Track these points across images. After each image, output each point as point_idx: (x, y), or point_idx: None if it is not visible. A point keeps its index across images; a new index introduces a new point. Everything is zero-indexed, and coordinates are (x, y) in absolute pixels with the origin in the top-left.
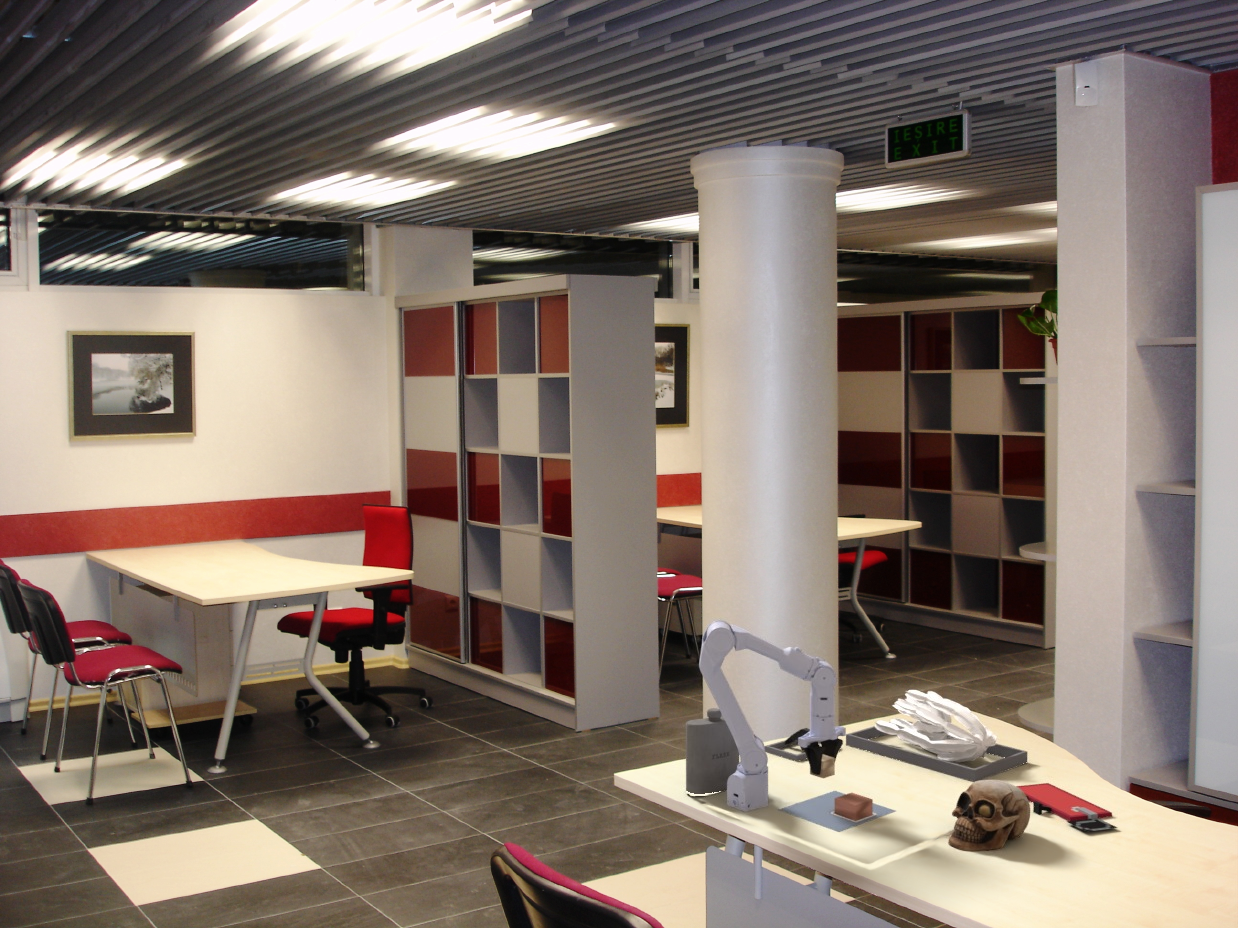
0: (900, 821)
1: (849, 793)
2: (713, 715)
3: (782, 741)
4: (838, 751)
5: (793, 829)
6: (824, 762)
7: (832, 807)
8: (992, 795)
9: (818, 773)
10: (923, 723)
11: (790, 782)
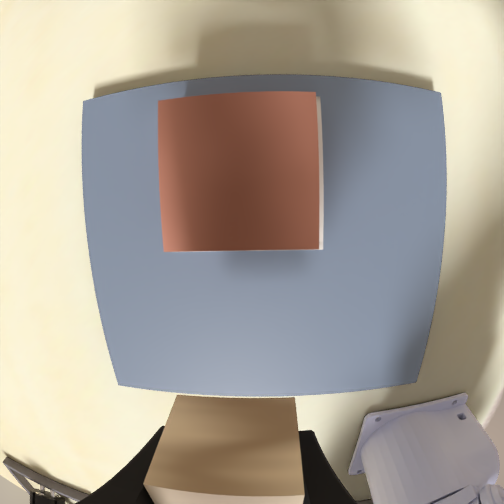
0: (132, 49)
1: (186, 248)
2: None
3: None
4: (81, 500)
5: (484, 247)
6: (287, 483)
7: (255, 288)
8: None
9: (314, 434)
10: None
11: None
